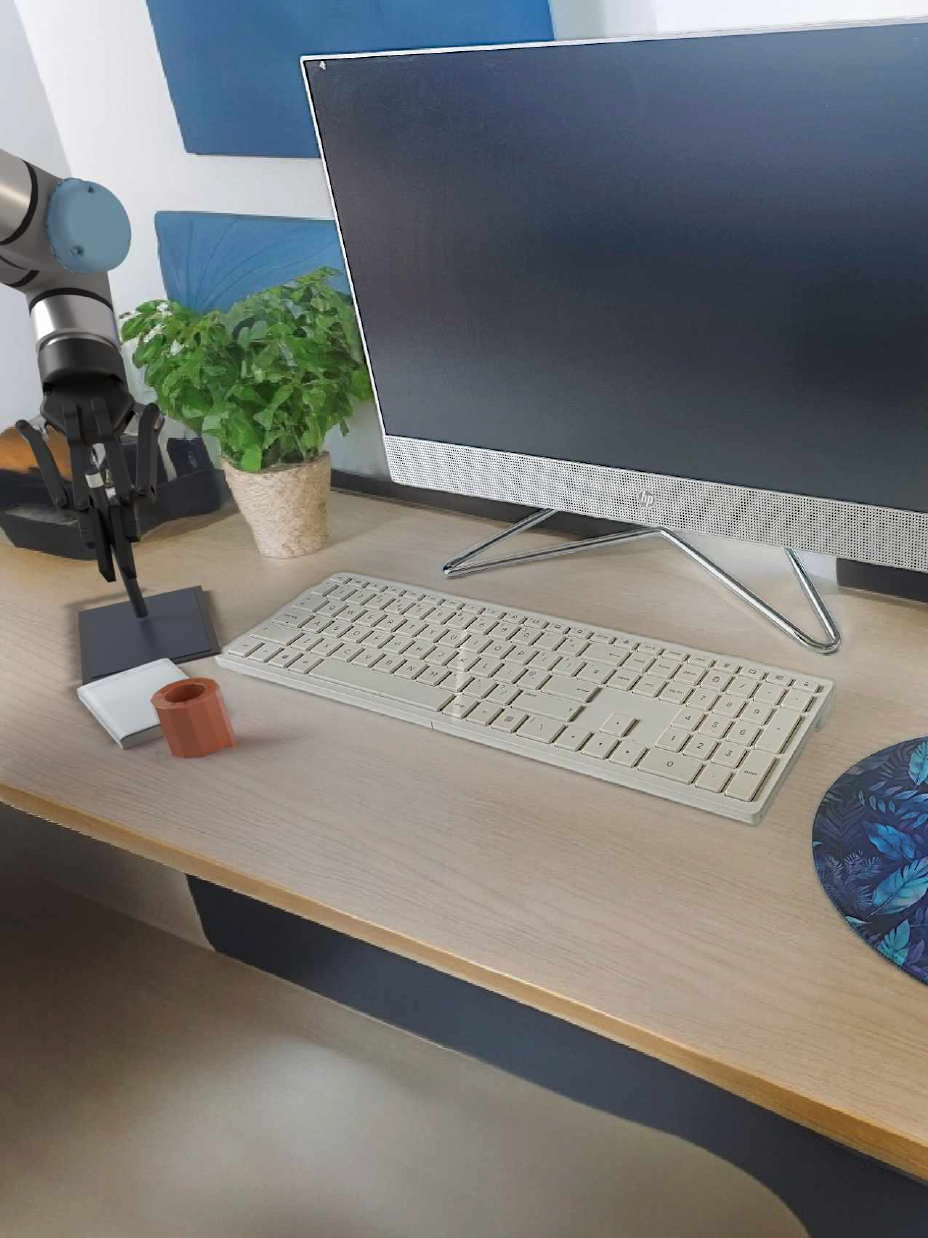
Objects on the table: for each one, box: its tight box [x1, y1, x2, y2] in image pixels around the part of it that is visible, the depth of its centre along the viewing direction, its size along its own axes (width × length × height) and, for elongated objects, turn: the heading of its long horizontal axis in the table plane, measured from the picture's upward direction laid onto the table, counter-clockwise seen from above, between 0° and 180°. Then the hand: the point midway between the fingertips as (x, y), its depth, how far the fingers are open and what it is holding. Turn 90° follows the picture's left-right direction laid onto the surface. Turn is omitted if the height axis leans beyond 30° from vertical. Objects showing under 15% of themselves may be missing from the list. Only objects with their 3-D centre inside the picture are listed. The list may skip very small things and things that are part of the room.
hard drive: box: [76, 658, 191, 751], centre depth 105 cm, size 2×8×12 cm
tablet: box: [77, 584, 222, 686], centre depth 118 cm, size 18×12×1 cm, turn 27°
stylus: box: [85, 468, 149, 618], centre depth 115 cm, size 1×1×15 cm
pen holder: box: [150, 677, 238, 759], centre depth 96 cm, size 5×5×6 cm
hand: (118, 574), depth 113 cm, fingers closed on stylus
